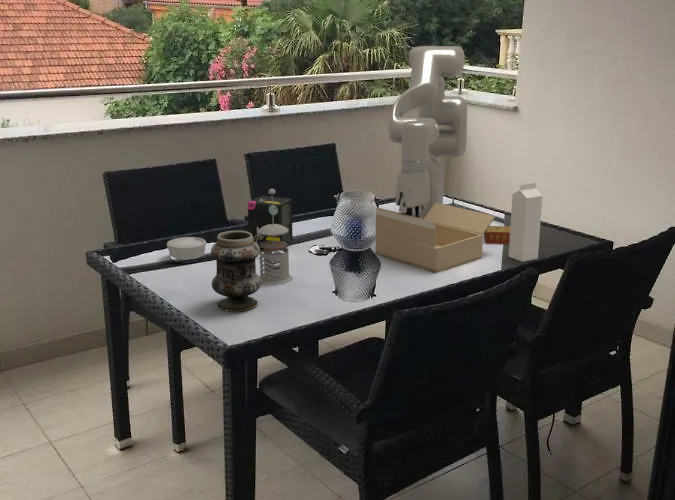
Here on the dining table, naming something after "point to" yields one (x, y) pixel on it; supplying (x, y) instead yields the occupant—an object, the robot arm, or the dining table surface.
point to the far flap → (460, 218)
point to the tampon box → (270, 217)
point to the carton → (497, 235)
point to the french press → (274, 254)
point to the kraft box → (433, 249)
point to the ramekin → (186, 247)
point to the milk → (525, 223)
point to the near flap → (406, 227)
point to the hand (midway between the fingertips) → (413, 229)
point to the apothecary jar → (236, 270)
